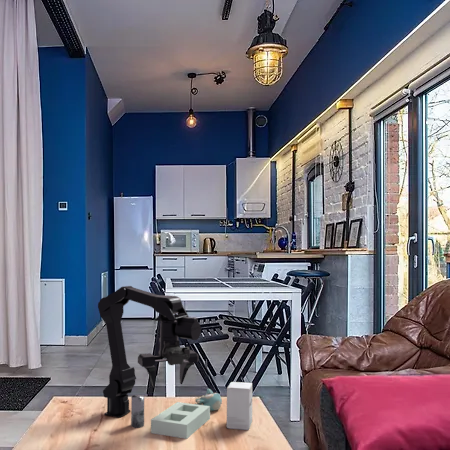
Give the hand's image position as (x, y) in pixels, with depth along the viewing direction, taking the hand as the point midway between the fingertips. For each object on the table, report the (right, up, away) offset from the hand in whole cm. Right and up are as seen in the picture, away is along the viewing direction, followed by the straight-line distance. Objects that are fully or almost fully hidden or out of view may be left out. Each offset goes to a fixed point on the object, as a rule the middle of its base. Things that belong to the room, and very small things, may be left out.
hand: (167, 385), depth 154 cm
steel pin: (-9, -12, -1) cm, 15 cm away
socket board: (+5, -12, -1) cm, 13 cm away
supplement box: (+23, -13, -1) cm, 26 cm away
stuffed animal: (+12, -14, +16) cm, 25 cm away
